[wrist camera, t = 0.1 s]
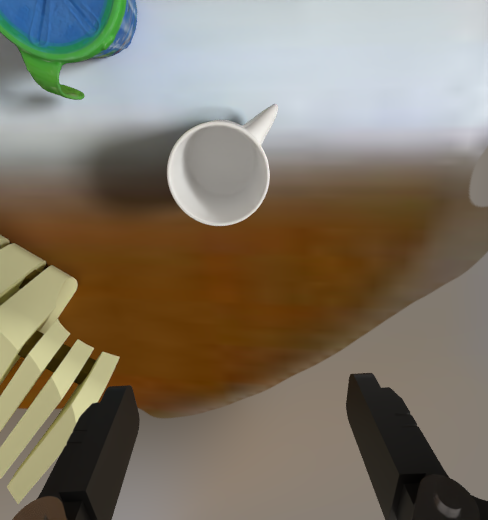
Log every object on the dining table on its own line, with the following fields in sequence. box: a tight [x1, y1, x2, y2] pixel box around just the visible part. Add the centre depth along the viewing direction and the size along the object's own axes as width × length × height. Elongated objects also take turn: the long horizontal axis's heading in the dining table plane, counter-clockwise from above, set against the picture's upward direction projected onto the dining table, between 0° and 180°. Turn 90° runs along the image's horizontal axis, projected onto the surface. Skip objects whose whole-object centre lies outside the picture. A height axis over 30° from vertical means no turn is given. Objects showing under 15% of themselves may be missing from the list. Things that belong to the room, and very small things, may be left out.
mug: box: [167, 104, 278, 226], centre depth 31 cm, size 9×12×11 cm
